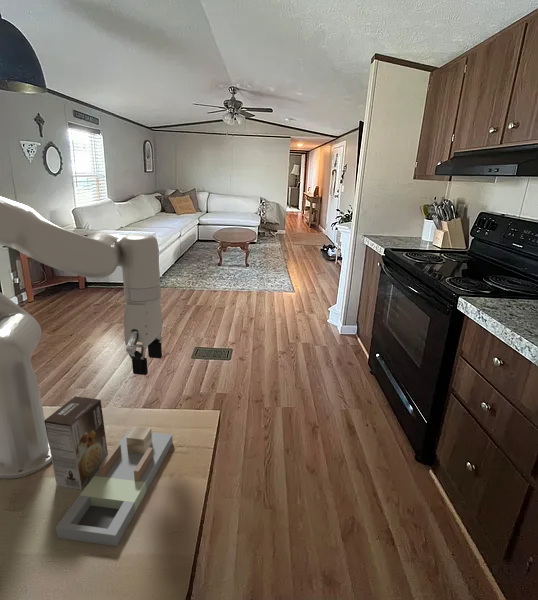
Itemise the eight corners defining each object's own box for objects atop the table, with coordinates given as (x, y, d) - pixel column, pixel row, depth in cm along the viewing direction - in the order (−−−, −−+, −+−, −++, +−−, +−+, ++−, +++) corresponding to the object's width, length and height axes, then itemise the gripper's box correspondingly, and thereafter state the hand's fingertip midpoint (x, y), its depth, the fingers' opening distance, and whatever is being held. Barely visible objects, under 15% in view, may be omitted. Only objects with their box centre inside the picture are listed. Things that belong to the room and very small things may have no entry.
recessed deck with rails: (57, 537, 66) (53, 516, 65) (129, 438, 92) (127, 421, 90) (116, 546, 65) (114, 524, 63) (172, 443, 91) (171, 425, 89)
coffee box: (84, 455, 86) (75, 394, 81) (109, 460, 84) (102, 398, 79) (54, 485, 77) (43, 419, 72) (82, 491, 76) (72, 424, 71)
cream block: (127, 452, 83) (126, 437, 82) (135, 440, 87) (134, 426, 86) (144, 454, 83) (143, 439, 82) (152, 442, 87) (151, 428, 86)
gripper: (143, 281, 89) (148, 348, 95) (105, 303, 73) (113, 383, 79) (173, 283, 89) (177, 350, 94) (141, 306, 72) (147, 386, 78)
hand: (148, 365), depth 86 cm, fingers open, 7 cm apart
